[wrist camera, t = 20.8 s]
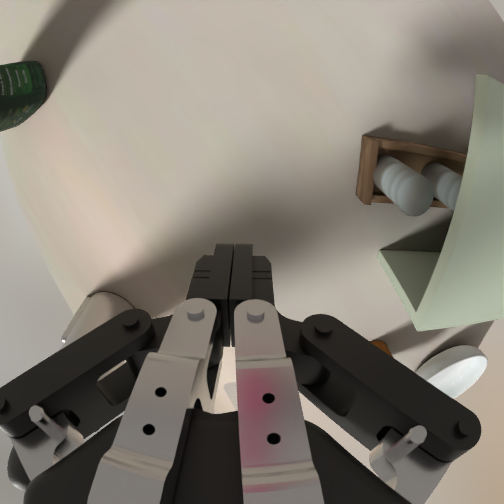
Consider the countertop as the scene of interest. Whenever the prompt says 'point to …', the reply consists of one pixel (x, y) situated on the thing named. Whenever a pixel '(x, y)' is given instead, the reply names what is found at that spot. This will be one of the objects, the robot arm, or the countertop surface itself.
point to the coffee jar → (20, 92)
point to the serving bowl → (454, 369)
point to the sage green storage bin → (463, 234)
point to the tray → (403, 156)
